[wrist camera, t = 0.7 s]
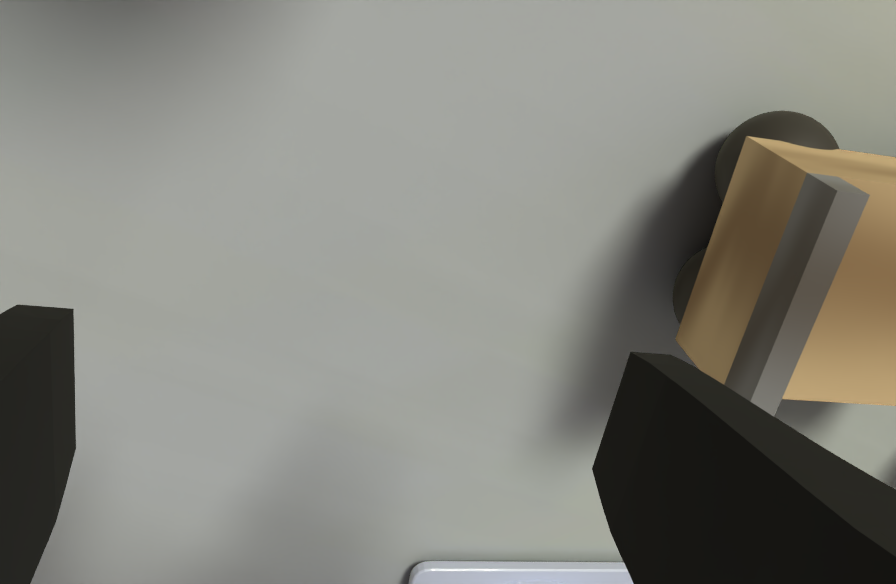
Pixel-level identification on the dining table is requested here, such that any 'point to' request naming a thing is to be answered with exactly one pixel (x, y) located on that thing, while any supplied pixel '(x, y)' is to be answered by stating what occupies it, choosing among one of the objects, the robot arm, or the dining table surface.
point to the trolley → (795, 269)
